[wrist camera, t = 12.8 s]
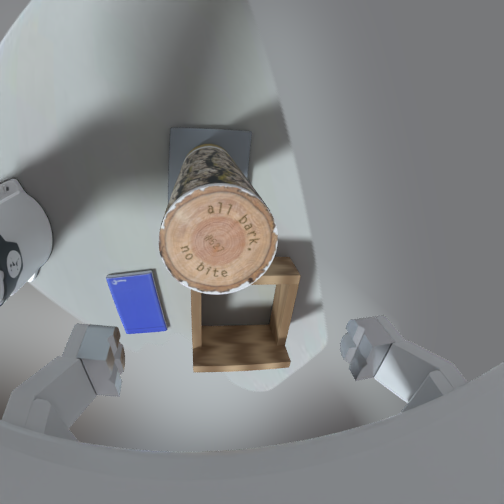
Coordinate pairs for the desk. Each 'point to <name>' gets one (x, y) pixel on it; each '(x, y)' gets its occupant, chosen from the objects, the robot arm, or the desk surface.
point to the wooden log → (216, 226)
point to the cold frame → (248, 329)
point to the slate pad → (190, 138)
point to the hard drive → (137, 302)
